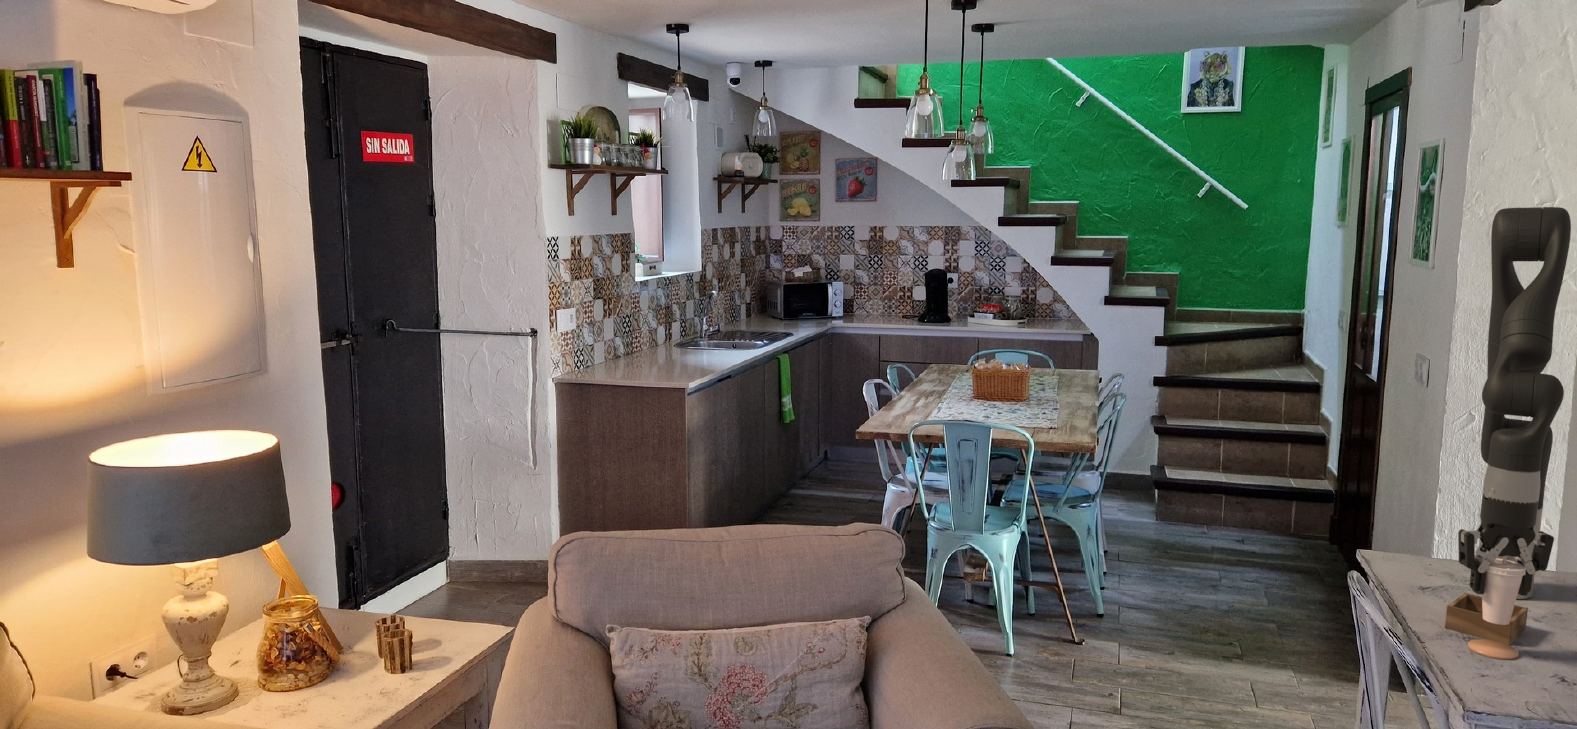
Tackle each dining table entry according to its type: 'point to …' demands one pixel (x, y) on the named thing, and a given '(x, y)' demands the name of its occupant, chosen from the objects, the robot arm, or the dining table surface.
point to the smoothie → (1501, 590)
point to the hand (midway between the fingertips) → (1499, 593)
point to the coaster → (1493, 649)
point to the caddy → (1470, 620)
